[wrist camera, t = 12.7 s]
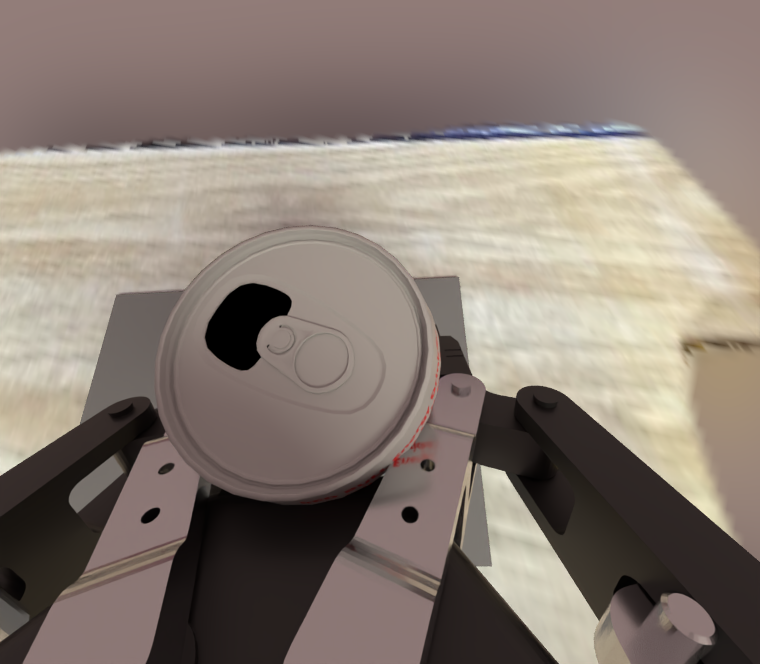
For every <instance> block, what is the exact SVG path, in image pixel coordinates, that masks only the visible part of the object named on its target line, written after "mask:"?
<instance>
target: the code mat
mask: <svg viewBox="0 0 760 664" xmlns="http://www.w3.org/2000/svg"><path fill="white" fill-rule="evenodd" d="M414 281H415V283H416V285H417V287H418V289H419V290H420V292H421V294H422V296H423V298H424V300H425V302H426V304H427V306H428V308H429V310H430V311H431V313H432V317H433V320H434V323H435V324H436V325H437V328H438V331H439V334H440V336H452V337H453V338H454V339H455V340H457V341H458V342H459V344H460V347H461V350H462V352H463V354H464V357H465V359H466V361H467V364H468V366H469V362H468V353H467V344H466V336H465V327H464V318H463V309H462V301H461V292H460V283H459V277H451V278H431V279H414ZM183 292H184V291H179V292H159V293H140V294H120V295H116V298H115V302H114V305H113V309H112V313H111V316H110V320H109V323H108V327H107V330H106V334H105V337H104V341H103V344H102V348H101V351H100V355H99V358H98V362H97V366H96V369H95V373H94V376H93V380H92V383H91V387H90V390H89V394H88V397H87V401H86V404H85V408H84V411H83V415H82V419H81V422H80V424H82V423H83V422H85V421H86V420H88V419H89V418H91V417H93V416H94V415H96V414H97V413H99V412H100V411H102V410H103V409H105V408H107V407H108V406H110V405H112V404H114V403H116V402H119V401H121V400H124V399H128V398H132V397H138V396H144V397H147V398H149V399H150V401H151V403H152V405H153V407H154V409H156V408H158V407H157V402H156V396H155V390H154V379H155V360H156V355H157V351H158V346H159V342H160V337H161V334H162V332H163V330H164V327H165V325H166V322H167V320H168V318H169V315H170V313H171V311H172V309H173V308H174V306H175V305H176V303H177V301H178V300H179V298H180V297H181V295H182V294H183ZM123 473H124V472H123V471H122V469H121V467H120V466H119V464H118V463H117V461H116V460H115V458H114V457H113V456H111V457H110V458H109V459H108V460H106V461H105V462H104V463H103V464H101V465H100V466H99V467H98V468H96V469H95V470H94V471H93V472H91V473H90V474H89V475H88V476H86V477H85V478H84V479H83V480H81V481H80V482H79V483H78V484H77V485H76V486H75V487H74V488H73V490H72V491H71V493H70V496H69V503H70V505H71V506H72V508H73V509H74V510H75V511H76V513H78V512H79V511H80V510H81V509H83V508H84V507H85V506H86V505H87V504H88V503H89V502H91V501H92V500H93V499H94V498H95V497H96V496H97V495H99V494H100V493H101V492H102V491H103V490H104V489H106V488H107V487H108V486H109V485H110V484H111V483H112V482H114V481H115V480H116V479H117V478H118V477H119V476H120V475H122V474H123ZM384 475H385V473H384V474H383V475H382V476H384ZM462 551H463V552H464V553H465V555H466V556H467V557H468V558H469V559H470V560H471V562H472V563H473V564H474V565H475V566H492V563H491V554H490V545H489V537H488V528H487V519H486V510H485V502H484V493H483V484H482V475H481V467H480V464H477V467H476V472H475V477H474V482H473V487H472V493H471V498H470V503H469V508H468V514H467V520H466V527H465V534H464V540H463V546H462Z"/></svg>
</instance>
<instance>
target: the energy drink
mask: <svg viewBox="0 0 760 664" xmlns="http://www.w3.org/2000/svg"><path fill="white" fill-rule="evenodd" d="M440 368H441V357H440V346H439V336H438V333H437V330H436V327H435V323H434V320H433V317H432V313H431V311H430V310H429V308H428V306H427V304H426V302H425V300H424V298H423V296H422V294H421V292H420V290H419V289H418V287H417V285H416V283H415V281H414V279H413V278H412V276H411V275H410V274H409V273H408V272H407V270H406V269H405V268H404V267H403V266H402V265H401V263H400V262H399V261H398V260H397V259H396V258H395V257H394V256H392V255H391V254H390V253H388V252H387V251H386V250H385V249H383V248H382V247H381V246H379V245H378V244H376V243H374V242H372V241H370V240H368V239H366V238H364V237H362V236H360V235H358V234H355V233H352V232H348V231H345V230H341V229H338V228H333V227H323V226H313V225H311V226H296V227H286V228H282V229H278V230H273V231H269V232H265V233H263V234H260V235H258V236H255V237H253V238H250V239H248V240H245V241H243V242H241V243H239V244H238V245H236V246H234V247H233V248H231V249H229V250H228V251H226V252H224V253H223V254H221V255H220V256H219V257H218V258H216V259H215V260H214V261H213V262H212V263H210V264H209V265H208V266H207V267H205V268H204V269H203V270H202V271H201V272H200V273H199V274H198V275H197V277H196V278H195V279H194V280H193V281H192V282H191V283H190V285H189V286H188V287H187V288H186V289H185V290H184V292H183V294H182V295H181V297H180V298H179V300H178V301H177V303H176V305H175V306H174V308H173V309H172V311H171V313H170V315H169V318H168V320H167V322H166V325H165V327H164V330H163V332H162V334H161V337H160V342H159V346H158V351H157V355H156V360H155V379H154V390H155V396H156V402H157V407H158V413H159V417H160V419H161V422H162V424H163V426H164V429H165V431H166V434H167V436H168V438H169V441H170V442H171V443H172V445H173V446H174V448H175V449H176V450H177V452H178V453H179V455H180V456H181V457H182V459H183V460H184V462H185V463H186V464H187V465H189V466H190V467H191V468H192V469H193V470H194V471H196V472H197V473H198V474H199V475H200V476H201V477H203V478H204V479H205V480H206V481H207V482H209V483H211V484H213V485H215V486H217V487H219V488H222V489H224V490H226V491H228V492H230V493H232V494H234V495H238V496H242V497H247V498H251V499H256V500H260V501H267V502H272V503H276V504H281V505H313V504H317V503H322V502H326V501H330V500H335V499H339V498H343V497H345V496H347V495H349V494H351V493H353V492H355V491H357V490H359V489H362V488H364V487H366V486H368V485H370V484H371V483H373V482H374V481H375V480H377V479H378V478H379V477H380V476H382V475H383V474H384V473H386V471H387V469H388V467H389V465H390V464H391V463H392V462H394V461H395V460H396V459H397V458H399V457H400V456H401V455H402V454H404V453H405V452H406V451H407V450H409V449H410V447H411V446H412V445H413V444H414V443H415V441H416V439H417V438H418V436H419V434H420V432H421V430H422V429H423V427H424V425H425V423H426V422H427V420H428V418H429V416H430V413H431V410H432V407H433V404H434V401H435V397H436V394H437V391H438V385H439V376H440Z"/></svg>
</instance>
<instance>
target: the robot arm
mask: <svg viewBox="0 0 760 664" xmlns="http://www.w3.org/2000/svg"><path fill="white" fill-rule="evenodd" d="M435 327H436V330H437V333H438V336H439V346H440V357H441V368H440V376H439V385H438V391H437V394H436V397H435V401H434V404H433V407H432V410H431V413H430V416H429V418H428V420H427V422H426V423H425V425H424V427H423V429H422V430H421V432H420V434H419V436H418V438H417V439H416V441H415V443H414V444H413V445H412V446H411V447H410V449H409V450H407V451H406V452H405V453H404V454H402V455H401V456H400V457H399V458H397V459H396V460H395V461H394V462H392V463H391V464H390V465H389V467H388V469H387V471H386V473H385V475H384V476H380V477H379V478H378V479H377V480H375V481H374V482H373V483H371V484H370V485H368V486H366V487H364V488H362V489H359V490H357V491H355V492H353V493H351V494H349V495H347V496H345V497H343V498H339V499H335V500H330V501H326V502H322V503H317V504H313V505H281V504H276V503H272V502H267V501H260V500H256V499H251V498H247V497H242V496H238V495H234V494H232V493H230V492H228V491H226V490H224V489H222V488H219V487H217V486H215V485H213V484H211V483H209V482H207V481H206V480H205V479H204V478H203V477H201V476H200V475H199V474H198V473H197V472H196V471H194V470H193V469H192V468H191V467H190V466H189V465H187V464H186V463H185V462H184V460H183V459H182V457H181V456H180V455H179V453H178V452H177V450H176V449H175V448H174V446H173V445H172V443H171V442H170V441H169V438H168V436H167V434H166V431H165V429H164V426H163V424H162V422H161V419H160V417H159V413H158V408H156V409H154V407H153V405H152V403H151V401H150V399H149V398H147V397H144V396H138V397H132V398H128V399H124V400H121V401H119V402H116V403H114V404H112V405H110V406H108V407H107V408H105V409H103V410H102V411H100V412H99V413H97V414H96V415H94V416H93V417H91V418H89V419H88V420H86V421H85V422H83V423H82V424H80V425H79V426H77V427H76V428H74V429H72V430H71V431H69V432H68V433H66V434H65V435H63V436H62V437H60V438H58V439H57V440H55V441H54V442H52V443H51V444H49V445H48V446H46V447H45V448H43V449H41V450H40V451H38V452H37V453H35V454H34V455H32V456H31V457H29V458H27V459H26V460H24V461H23V462H21V463H20V464H18V465H17V466H15V467H13V468H12V469H10V470H9V471H7V472H6V473H4V474H3V475H1V476H0V664H559V663H558V662H557V661H556V660H555V659H554V658H553V656H552V655H551V654H550V653H549V652H548V651H547V649H546V648H545V647H544V646H543V645H542V644H541V642H540V641H539V640H538V639H537V638H536V637H535V635H534V634H533V633H532V632H531V631H530V630H529V628H528V627H527V626H526V625H525V624H524V623H523V621H522V620H521V619H520V618H519V617H518V615H517V614H516V613H515V612H514V611H513V610H512V608H511V607H510V606H509V605H508V604H507V603H506V601H505V600H504V599H503V598H502V597H501V596H500V594H499V593H498V592H497V591H496V590H495V589H494V587H493V586H492V585H491V584H490V583H489V582H488V580H487V579H486V578H485V577H484V576H483V575H482V573H481V572H480V571H479V570H478V569H477V567H476V566H475V565H474V564H473V563H472V562H471V560H470V559H469V558H468V557H467V556H466V555H465V553H464V552H463V551H462V546H463V540H464V534H465V527H466V520H467V514H468V508H469V503H470V498H471V493H472V487H473V482H474V477H475V472H476V467H477V464H480V465H483V466H487V467H491V468H495V469H499V470H502V471H505V472H506V474H507V476H508V478H509V479H510V481H511V483H512V484H513V486H514V487H515V489H516V491H517V492H518V494H519V495H520V497H521V498H522V500H523V502H524V503H525V505H526V506H527V508H528V509H529V511H530V513H531V514H532V516H533V517H534V519H535V520H536V522H537V524H538V525H539V527H540V528H541V530H542V532H543V533H544V535H545V536H546V538H547V539H548V541H549V543H550V544H551V546H552V547H553V549H554V550H555V552H556V554H557V555H558V557H559V558H560V560H561V561H562V563H563V565H564V566H565V568H566V569H567V571H568V573H569V574H570V576H571V577H572V579H573V580H574V582H575V584H576V585H577V587H578V588H579V590H580V591H581V593H582V595H583V596H584V598H585V599H586V601H587V603H588V604H589V606H590V607H591V609H592V610H593V612H594V614H595V615H596V617H597V618H598V620H599V623H598V625H597V626H596V629H595V632H594V648H595V653H596V657H597V660H598V663H599V664H760V562H759V561H758V560H757V559H756V558H754V557H753V556H752V555H751V554H750V553H749V552H747V551H746V550H745V549H744V548H743V547H742V546H740V545H739V544H738V543H737V542H736V541H735V540H734V539H732V538H731V537H730V536H729V535H728V534H727V533H725V532H724V531H723V530H722V529H721V528H720V527H718V526H717V525H716V524H715V523H714V522H713V521H711V520H710V519H709V518H708V517H707V516H706V515H704V514H703V513H702V512H701V511H700V510H699V509H697V508H696V507H695V506H694V505H693V504H692V503H690V502H689V501H688V500H687V499H686V498H685V497H684V496H682V495H681V494H680V493H679V492H678V491H677V490H675V489H674V488H673V487H672V486H671V485H670V484H668V483H667V482H666V481H665V480H664V479H663V478H661V477H660V476H659V475H658V474H657V473H656V472H654V471H653V470H652V469H651V468H650V467H649V466H647V465H646V464H645V463H644V462H643V461H642V460H640V459H639V458H638V457H637V456H636V455H635V454H633V453H632V452H631V451H630V450H629V449H628V448H627V447H625V446H624V445H623V444H622V443H621V442H620V441H618V440H617V439H616V438H615V437H614V436H613V435H611V434H610V433H609V432H608V431H607V430H606V429H604V428H603V427H602V426H601V425H600V424H599V423H597V422H596V421H595V420H594V419H593V418H592V417H590V416H589V415H588V414H587V413H586V412H585V411H583V410H582V409H581V408H580V407H579V406H578V405H577V404H575V403H574V402H573V401H572V400H571V399H570V398H568V397H567V396H566V395H564V394H563V393H561V392H559V391H557V390H554V389H552V388H548V387H544V386H527V387H524V388H522V389H520V390H519V391H518V393H517V396H516V398H513V397H507V396H501V395H497V394H493V393H490V392H488V391H486V388H485V385H484V384H483V383H482V381H480V380H479V379H478V378H476V377H474V376H472V373H471V371H470V369H469V366H468V364H467V361H466V359H465V357H464V354H463V352H462V350H461V347H460V344H459V342H458V341H457V340H455V339H454V338H453V337H452V336H440V334H439V331H438V328H437V325H436V324H435ZM111 456H113V457H114V458H115V460H116V461H117V463H118V464H119V466H120V467H121V469H122V471H123V472H124V473H123V474H122V475H120V476H119V477H118V478H117V479H116V480H115V481H114V482H112V483H111V484H110V485H109V486H108V487H107V488H106V489H104V490H103V491H102V492H101V493H100V494H99V495H97V496H96V497H95V498H94V499H93V500H92V501H91V502H89V503H88V504H87V505H86V506H85V507H84V508H83V509H81V510H80V511H79V512H78V513H76V511H75V510H74V509H73V508H72V506H71V505H70V503H69V496H70V493H71V491H72V490H73V488H74V487H75V486H76V485H77V484H78V483H79V482H80V481H81V480H83V479H84V478H85V477H86V476H88V475H89V474H90V473H91V472H93V471H94V470H95V469H96V468H98V467H99V466H100V465H101V464H103V463H104V462H105V461H106V460H108V459H109V458H110V457H111Z"/></svg>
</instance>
